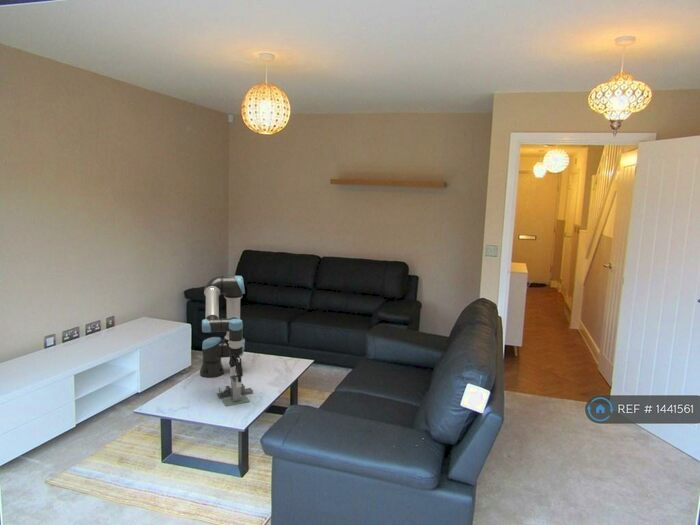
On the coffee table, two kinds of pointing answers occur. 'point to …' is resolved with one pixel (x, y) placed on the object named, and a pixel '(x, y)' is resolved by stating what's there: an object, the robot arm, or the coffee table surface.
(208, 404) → the coffee table surface
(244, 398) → the mat
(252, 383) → the coffee table surface
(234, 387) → the bar
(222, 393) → the silver metal blocks
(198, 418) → the coffee table surface
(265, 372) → the coffee table surface
